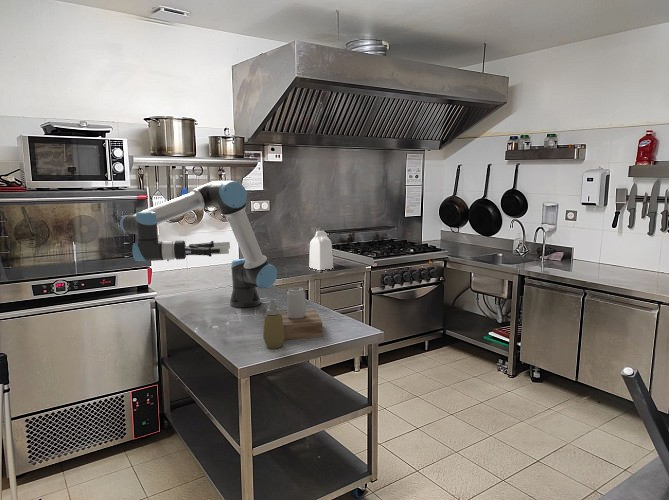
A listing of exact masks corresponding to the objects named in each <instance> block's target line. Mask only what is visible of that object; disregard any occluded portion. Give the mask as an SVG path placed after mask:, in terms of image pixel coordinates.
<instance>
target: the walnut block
mask: <svg viewBox="0 0 669 500" xmlns="http://www.w3.org/2000/svg"><path fill="white" fill-rule="evenodd" d="M279 314H281V315H282V320H283V327H284V334H285V338H284V341H288V340H297V339H298V340H299V339H310V338H311V339H312V338H323V336H324V335H323V321H322V319H321V317H320V315H319V313H318V311H317V310H316V309H308V310H307V309H306V316H305V317H304V318H302V319H290V318H289V317H288V312H287V311H279Z"/></svg>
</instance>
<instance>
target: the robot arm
mask: <svg viewBox="0 0 669 500" xmlns="http://www.w3.org/2000/svg"><path fill="white" fill-rule="evenodd" d="M247 198H248V193H247V190H246V188H245V186H244V185H243V184H242V183H240V182H238V181H236V180H235V181H234V180H228V179H227V180H213V181H210V182H207V183H205V184H203V185H201V186H198V187H195V188H193V189H192V190H191V192H189V193H187V194H183V195H181V196H178V197H176V198H173V199H171V200H169V201H165V202H163V203H160V204H157V205H155V206H152V207H150V208H147V209H143V210H142V211H138V212H136V213H134V214H126V215H124V216H123V217H121V219H120V221H119V226H120V229H121V230H122V231H123V232H124V233H127V234H130V235H137V242H133V244H132V249H131V251H132V257H133V259H134V260H135V262H155V261H156V262H157V261H158V262H159V261H167V262H170V261H171V260H185V259H186V257H187V256H208V257H212V255H228V254H230V251H229V250H230V249H231V244H230V243H231V242H230V241H223V242H214V240H211V241H210V242H201V243H190V244H188V245H186V241H185V240H184V239H183V240H175V241H174V240H162V241H159V231H158V225H160V224H162V223H164V222H168V221H170V220H173V219H175V218H177V217H179V216H182V215H185V214H188V213H190V212H192V211H195V210H197V209H199V210H203V209H206V208H210V207H216V208H217V207H218V208H219V210H220V213H221V215H222V216H224V217H226V218H227V220H228V223H229V226H230V228H231V231H232V233H233V234H234V235H233V236H234V238H235V240H236V242H237V244H238V246H239V250H240V252H241V254H242V256H243V258H237V259H233V260H232V262H231V267H230V269H231V278H232V279H231V281H232V291H231V295H230V299H229V305H230V307H234V308H251V307H256V306H258V305H260V304H261V302H262V301H261V297H260V294H259V292H258V289H269V288H271V287H272V286H273V285H274V284H275V283H276V281H277V280H276V279H277V276H278V270H277V268H276V267H275V266H274V264H270V261H269V259H268V257H267V256H266V255H264V254H263V252H262V250H261V248H260V246H259V243H258V240H257V237H256V235H255V233H254V230H253V228H252V225H251V223H250V220H249V217H248V215H247V212H246V208H247V203H246V202H247Z"/></svg>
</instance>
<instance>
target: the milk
mask: <svg viewBox="0 0 669 500" xmlns="http://www.w3.org/2000/svg"><path fill="white" fill-rule="evenodd" d="M332 244H333V243H332V240H331V239H330V238H329V237H328V236H327V234H326V232H325V230H318V231H315V234H314V236H313V238H312V239H311V240H310V242H309V259H308V261H309V263H308V264H309V265H308V268H309V267H310V268H313V269H317V270H325V269H330V270H333V269H334V260H333V259H334V258H333V245H332ZM332 268H333V269H332ZM325 271H326V270H325Z"/></svg>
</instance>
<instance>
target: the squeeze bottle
mask: <svg viewBox="0 0 669 500" xmlns="http://www.w3.org/2000/svg"><path fill="white" fill-rule="evenodd" d="M279 312H280V308H278V307H277V306H276V302H275V299H270V303H269V307H268V308H267V309H266V314H265V315H264V319H263V335H262V336H263V337H262V338H263V340H264V342H265V345H266V348H267V349H279V348H281V347H282V346H283V344H284V341H285V340H284V338H285V334H284V327H283V320H282V315H281V314H279Z"/></svg>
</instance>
